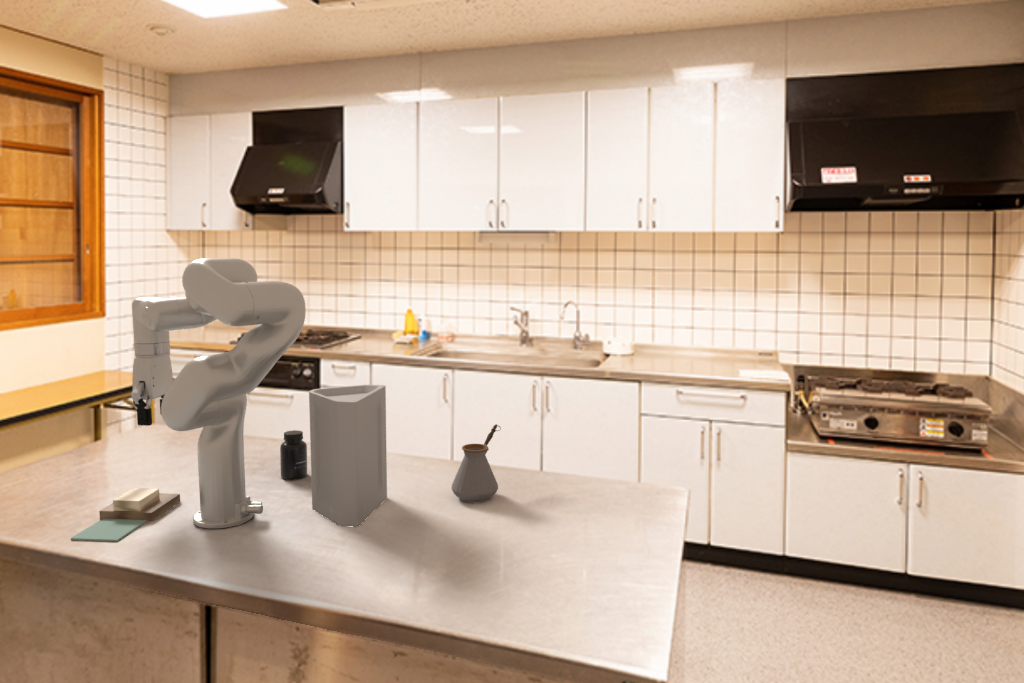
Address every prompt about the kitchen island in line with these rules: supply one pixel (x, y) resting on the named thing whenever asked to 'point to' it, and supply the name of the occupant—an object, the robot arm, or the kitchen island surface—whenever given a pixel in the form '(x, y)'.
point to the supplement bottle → (293, 456)
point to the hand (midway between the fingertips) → (156, 420)
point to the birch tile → (136, 499)
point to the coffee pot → (475, 474)
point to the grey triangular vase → (348, 452)
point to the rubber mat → (109, 530)
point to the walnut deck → (145, 514)
